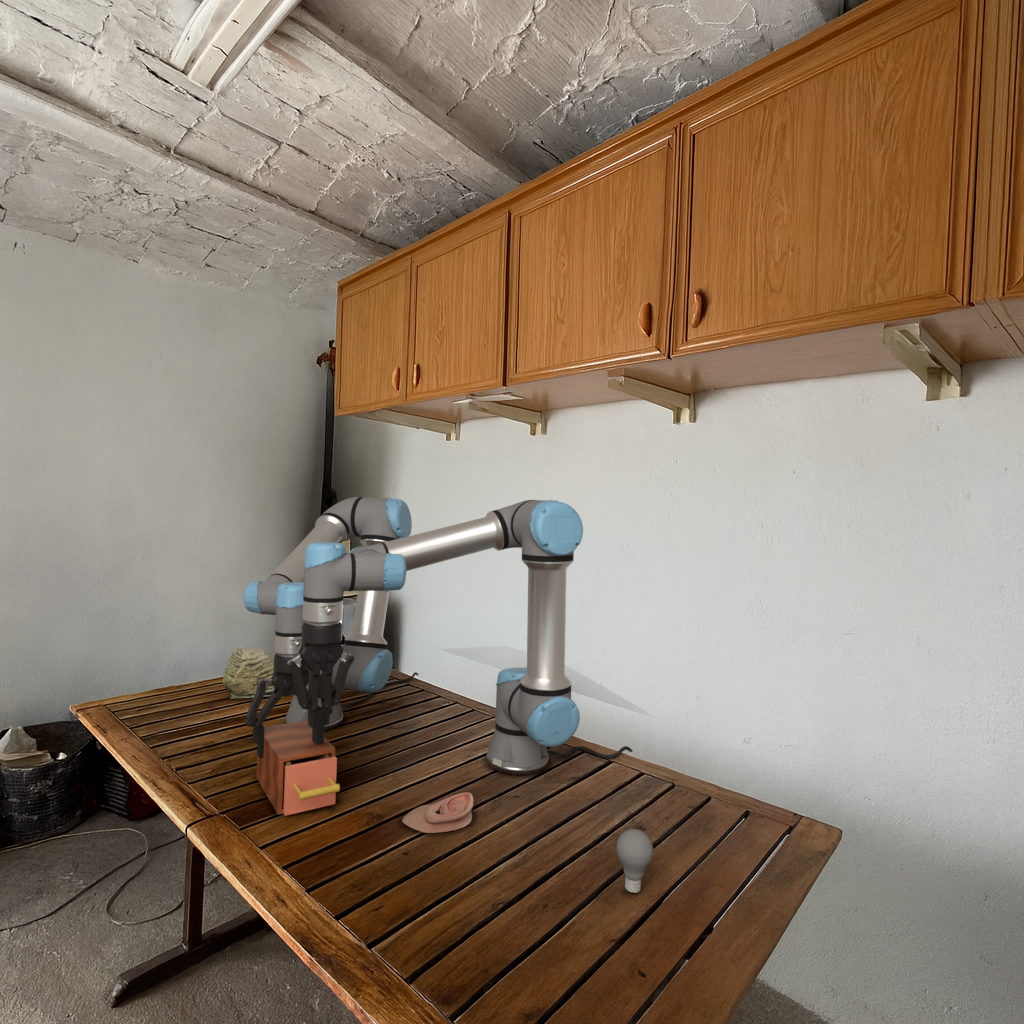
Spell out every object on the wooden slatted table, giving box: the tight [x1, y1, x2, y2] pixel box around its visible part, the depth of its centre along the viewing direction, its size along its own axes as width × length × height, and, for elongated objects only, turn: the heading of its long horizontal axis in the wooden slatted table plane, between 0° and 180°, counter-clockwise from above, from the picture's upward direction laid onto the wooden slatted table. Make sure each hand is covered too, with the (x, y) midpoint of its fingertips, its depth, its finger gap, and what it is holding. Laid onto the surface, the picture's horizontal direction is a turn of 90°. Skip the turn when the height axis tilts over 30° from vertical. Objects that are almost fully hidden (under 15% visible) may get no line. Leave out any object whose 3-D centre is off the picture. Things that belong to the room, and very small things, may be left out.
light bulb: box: [615, 828, 654, 894], centre depth 106 cm, size 6×6×10 cm
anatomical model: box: [401, 791, 474, 834], centre depth 126 cm, size 13×4×12 cm
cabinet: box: [255, 720, 336, 815], centre depth 136 cm, size 19×11×11 cm, turn 34°
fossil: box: [222, 646, 275, 699], centre depth 198 cm, size 9×18×15 cm, turn 132°
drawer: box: [282, 754, 341, 817], centre depth 131 cm, size 23×10×9 cm, turn 34°
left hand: (288, 750), depth 141 cm, fingers closed on cabinet, 11 cm apart
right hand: (317, 741), depth 124 cm, fingers closed
